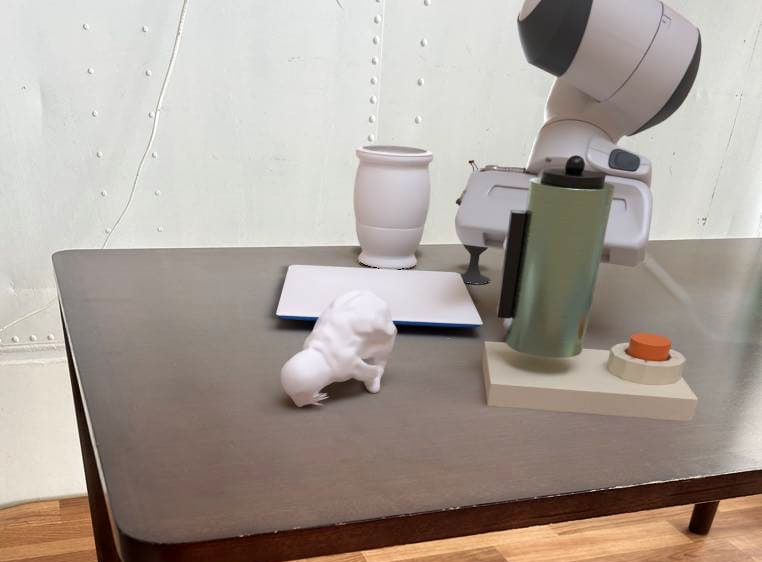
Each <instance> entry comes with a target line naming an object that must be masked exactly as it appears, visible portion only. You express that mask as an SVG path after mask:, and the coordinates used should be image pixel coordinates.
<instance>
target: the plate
mask: <svg viewBox="0 0 762 562" xmlns="http://www.w3.org/2000/svg"><path fill="white" fill-rule="evenodd" d="M285 275H286V276H285V278H284V279H285V280H284V284H283V286H282V291H281V294H280V298H279V301H278V305H277V309H276V313H275V315H276V316H277V317H278V318H279V319H284V320H296V321H297V320H298V321H309V322H310V321H311V322H317V320H318V318H319V317H320V316H321V315H322V313H323V311H324V310H325V309H326V308H327V307H328V306H329V305H330V304H331V303H332V302H333V301H334V300H335V299H336V298H337V297H339V296H340V295H342V294H344V293H346V292H348V291H351V290H368V291H370V292H372V293H373V294H375V295H376V296H377V297H379V298H380V299H382V300H384V301H385V302H386V304H387V305H388V307H389V309H390V312H391V315H392V321H393V324H394V325H395V326H411V327H412V326H413V327H415V326H416V327H437V328H438V327H439V328H479V327H482V325H483V324H484V323H483V320H482V318H481V316H480V314H479V312H478V310H477V308H476V305H475V304H474V301H473V299H472V297H471V295H470V292H469V290H468V289H467V286H466V283H464V282H463V280H462V278H461V275H460V273H459V272H454V271H435V270H417V269H401V270H396V269H378V268H373V267H354V266H353V267H351V266H334V265H333V266H329V265H327V266H326V265H310V264H309V265H308V264H292V265H289V266H288V268H287V272H286V274H285Z"/></svg>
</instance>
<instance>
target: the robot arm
mask: <svg viewBox="0 0 762 562" xmlns="http://www.w3.org/2000/svg"><path fill="white" fill-rule="evenodd" d="M516 24H517V32H518V37H519V41H520V45H521V49H522V53H523V54H524V55H523V56H524V57H525V59H526V62H527V63H528V64H530V65H531V66H534V67H535V68H537V69H540V70H542V71H544V72H546V73H548V74H550V75H551V76H554V79H553V81H552V82H553V83H552V84H551V87H550V89H549V93H548V96H547V98H546V101H545V106H544V109H543V123H542V125H541V126H540V128H539V129H538V131H537V132H536V135H535V137H534V140H533V144H532V147H531V150H530V154H529V157H528V160H527V163H526V165H525V166H526V167H521V166H510V165H509V166H502V165H498V164H485V167H480V168H478V170H477V169H476V170H474V171H473V170H472V172H471V173H470V175H469V177H468V180H467V182H466V186H465V188H466V189H465V188H464V189H465V193H466V194H465V196H464V198H463V200H462V202H461V204H460V206H459V205H458V209H457V210H456V211H457V212H456V214H455V218H454V226H455V227H454V228H455V233H456V235H457V238H458V239H459V241H460V243H461V244H462V245H463V244H465V245H472V246H479V247H487V248H488V249H496V250H503V256H504V255H505V248H506V240H507V233H508V226H509V218H510V211H511V209H512V210H524V211H525V210H526V203H527V196H528V189H529V182H530V179H532V178H536V177H541V175H542V170H544V169H549V168H565V164H566V161H567V160H568V159H569V158H570V157H571V156H574V155H578V156H580V157H582V158H583V159H584V162H585V168H584V170H588V171H594V172H599V173H602V174H605V175H606V177H605V183H609V184H611V185H613V186H614V187H615V189H614V194H613V199H612V204H611V209H610V214H609V219H608V224H607V229H606V234H605V239H604V244H603V249H602V254H601V259H600V264H609V265H616V266H623V267H624V266H625V267H631V268H634V267H637V266H638V265H640V264H641V263H642V262H643V261H644V260H645V259H646V254H647V249H648V245H649V244H648V243H649V238H650V233H651V225H652V224H651V223H652V217H653V216H652V215H653V193H652V191H651V187H652V177H653V175H652V174H653V172H652V171H653V169H652V168H653V167H652V161H651V159H649V158H648V157H647V156H644V155H641V154H639V153H636V152H634V151H631V150H629V149H626V148H625V147H622V146H619V145H618V143H619V141H620V140H621V139H622V138H623V137H624V136H626V138H627V137H632V136H635V135H638V134H641V133H642V132H645V131H647V130H650V129H651V128H653V127H656V126H658V125H659V124H661V123H663V122H665V121H667V120H668V119H669V118H670V117H671V116H673V114H675V113H676V112H677V111H678V109H679V108H680V107H682V105H683V104H684V102H685V101H686V99H687V98H688V96H689V94H690V92H691V90H692V88H693V86H694V83H695V81H696V78H697V76H698V74H699V69H700V64H701V57H702V46H703V45H702V35H701V32H700V29H699V28H698V27H696V26H695V25H694V23H692V22H691V21H689V19H687V18H686V17H684V16H683V15H681V14H680V13H679V12H677V11H676V10H675V9H673V8H672V7H670V6H669V5H667V4H666V3H665V2H663V1H662V0H523V2H522V3H521V7H520V10H519V12H518V15H517V19H516Z"/></svg>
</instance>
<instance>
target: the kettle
mask: <svg viewBox="0 0 762 562" xmlns="http://www.w3.org/2000/svg"><path fill="white" fill-rule="evenodd" d="M584 168H585V162H584V159H583V158H582V157H580V156H578V155H574V156H571V157H570V158H569V159H568V160H567V161H566V164H565V168H549V169H544V170H542V175H541V177H536V178H532V179H530V182H529V189H528V196H527V203H526V210H525V211H524V210H512V209H511V211H510V218H509V226H508V233H507V240H506V248H505V255H504V254H503V263H502V270H501V277H500V285H499V292H498V299H497V307H496V318H498V319H506V318H509V326H508V330H507V334H506V340H505V343H507V345H508V346H509V347H510V348H512V349H513V350H515V351H518V352H520V353H523V354H527V355H531V356H536V357H543V358H569V357H574V356H577V355H579V354H580V353H581V352H582V351H583V349H584V344H585V340H586V335H587V329H588V324H589V320H590V315H591V310H592V306H593V305H592V304H593V299H594V295H595V289H596V286H597V285H596V284H597V280H598V276H599V275H598V274H599V269H600V264H601V263H600V259H601V254H602V249H603V244H604V239H605V234H606V229H607V224H608V219H609V214H610V209H611V204H612V199H613V194H614V189H615V187H614V186H613V185H611V184H609V183H605V177H606V175H605V174H602V173H599V172H594V171H588V170H584Z"/></svg>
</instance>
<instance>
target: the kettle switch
mask: <svg viewBox="0 0 762 562" xmlns="http://www.w3.org/2000/svg"><path fill="white" fill-rule="evenodd" d="M628 343H629V347H628V352H627V355H629V356H631V357H633V358H637V359H641V360H645V361H657V362H662V361H667V359H668V355H669V351H670V349H671V348H672V343H673V342H672V340H671V339H670V338H667V337H666V336H663V335H659V334H654V333H645V332H644V333H643V332H642V333H634V334H632V335H631V336H630V338H629V342H628Z"/></svg>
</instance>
